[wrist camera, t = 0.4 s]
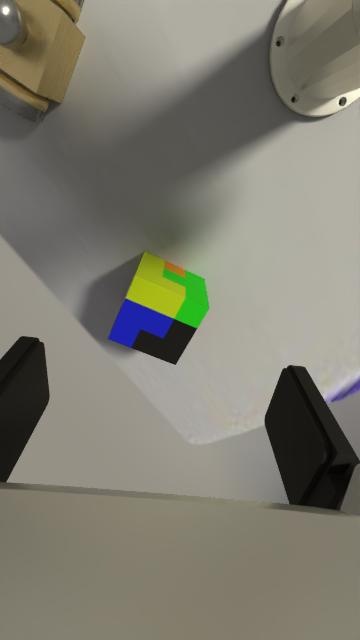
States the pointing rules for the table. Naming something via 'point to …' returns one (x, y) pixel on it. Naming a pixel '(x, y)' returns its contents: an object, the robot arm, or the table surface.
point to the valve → (41, 57)
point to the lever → (11, 24)
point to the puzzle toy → (161, 309)
